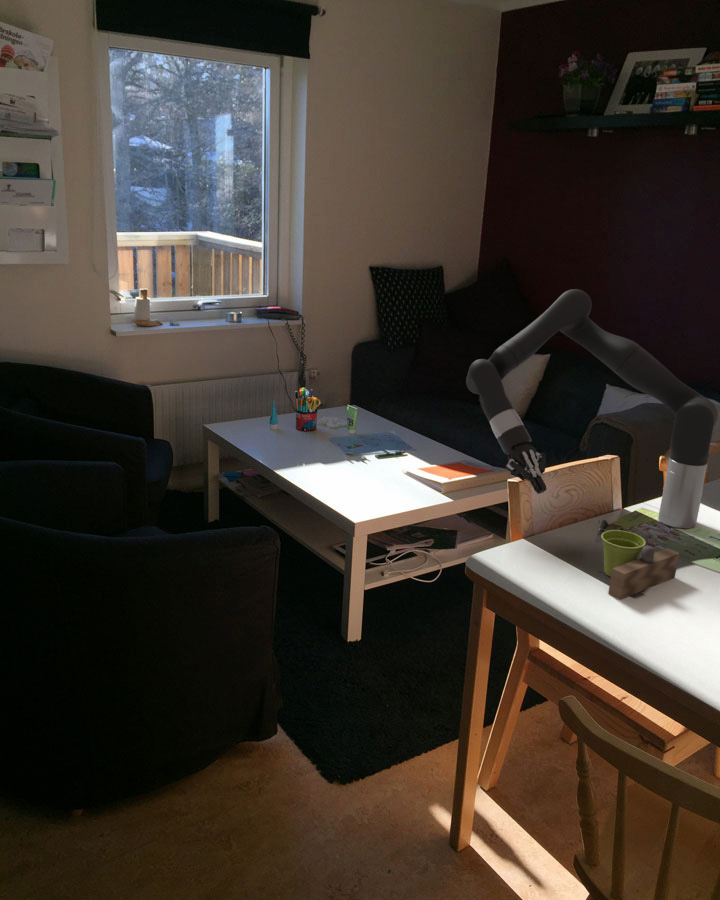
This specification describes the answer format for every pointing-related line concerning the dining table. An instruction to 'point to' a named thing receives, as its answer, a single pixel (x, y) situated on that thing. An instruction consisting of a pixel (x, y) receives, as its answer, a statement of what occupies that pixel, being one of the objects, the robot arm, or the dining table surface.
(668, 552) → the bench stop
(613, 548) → the plant pot
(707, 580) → the dining table surface
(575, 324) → the robot arm
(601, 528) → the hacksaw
